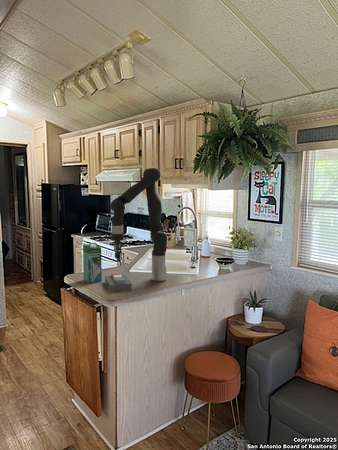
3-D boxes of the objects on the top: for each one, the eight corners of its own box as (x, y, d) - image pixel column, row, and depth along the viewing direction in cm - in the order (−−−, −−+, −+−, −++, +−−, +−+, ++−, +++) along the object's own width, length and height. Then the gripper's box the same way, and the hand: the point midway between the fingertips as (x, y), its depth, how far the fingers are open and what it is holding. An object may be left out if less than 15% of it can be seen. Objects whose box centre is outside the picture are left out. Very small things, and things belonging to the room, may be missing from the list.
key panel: (124, 280, 222) (124, 274, 221) (131, 290, 201) (131, 283, 201) (105, 281, 217) (104, 276, 217) (110, 292, 197) (110, 285, 196)
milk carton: (88, 283, 213) (88, 245, 210) (83, 280, 221) (82, 243, 218) (101, 281, 219) (101, 244, 216) (96, 278, 226) (95, 242, 223)
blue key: (123, 282, 205) (123, 277, 205) (124, 284, 201) (124, 279, 200) (115, 282, 204) (115, 278, 203) (116, 285, 199) (116, 280, 199)
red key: (118, 276, 219) (118, 271, 218) (120, 278, 214) (120, 273, 214) (111, 276, 217) (111, 272, 217) (112, 278, 212) (112, 274, 212)
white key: (120, 279, 212) (120, 274, 212) (122, 281, 207) (122, 276, 207) (113, 279, 210) (113, 275, 210) (114, 281, 206) (114, 277, 205)
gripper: (125, 233, 200) (125, 261, 202) (121, 230, 213) (121, 256, 215) (113, 234, 197) (113, 261, 199) (109, 231, 211) (109, 256, 213)
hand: (117, 258), depth 207 cm, fingers open, 5 cm apart
